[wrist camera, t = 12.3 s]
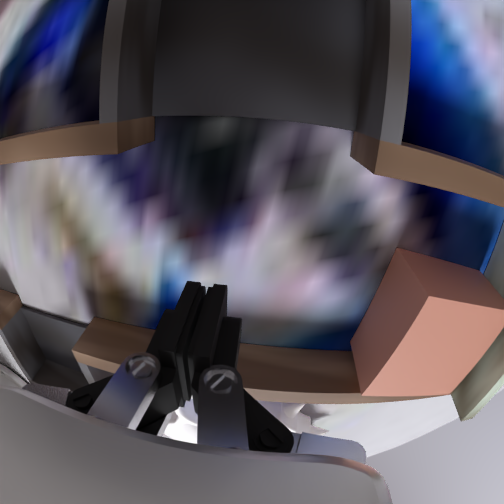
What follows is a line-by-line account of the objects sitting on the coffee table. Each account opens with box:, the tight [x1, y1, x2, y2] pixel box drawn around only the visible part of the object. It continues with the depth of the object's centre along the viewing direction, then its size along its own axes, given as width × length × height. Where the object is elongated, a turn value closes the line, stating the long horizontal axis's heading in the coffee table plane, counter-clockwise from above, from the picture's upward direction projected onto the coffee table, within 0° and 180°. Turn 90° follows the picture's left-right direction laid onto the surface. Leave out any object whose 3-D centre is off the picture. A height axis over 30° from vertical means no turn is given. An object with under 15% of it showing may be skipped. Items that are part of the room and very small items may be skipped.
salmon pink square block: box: [350, 248, 504, 396], centre depth 14 cm, size 7×7×4 cm
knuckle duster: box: [164, 397, 328, 444], centre depth 22 cm, size 3×18×15 cm
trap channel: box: [0, 0, 504, 421], centre depth 13 cm, size 30×42×6 cm
